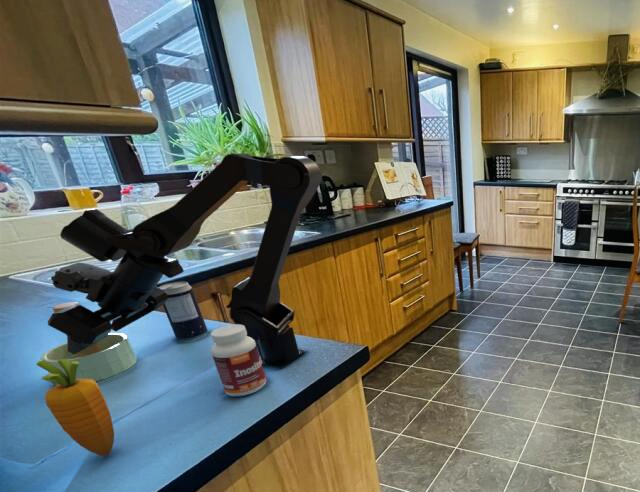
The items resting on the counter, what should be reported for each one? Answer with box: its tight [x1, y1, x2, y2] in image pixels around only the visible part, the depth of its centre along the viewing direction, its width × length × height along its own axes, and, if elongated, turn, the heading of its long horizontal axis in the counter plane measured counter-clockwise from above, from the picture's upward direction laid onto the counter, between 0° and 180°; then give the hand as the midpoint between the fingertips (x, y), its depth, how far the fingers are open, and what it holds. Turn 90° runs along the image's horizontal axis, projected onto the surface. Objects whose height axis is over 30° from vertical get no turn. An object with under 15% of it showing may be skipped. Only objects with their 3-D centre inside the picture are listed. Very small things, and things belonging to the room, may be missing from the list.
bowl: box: [40, 332, 138, 386], centre depth 74 cm, size 11×11×6 cm
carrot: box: [36, 359, 115, 457], centre depth 51 cm, size 5×5×15 cm
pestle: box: [51, 301, 103, 358], centre depth 72 cm, size 5×5×13 cm
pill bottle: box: [210, 323, 267, 397], centre depth 67 cm, size 6×6×11 cm
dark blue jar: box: [158, 281, 208, 341], centre depth 86 cm, size 6×6×12 cm
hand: (93, 340), depth 72 cm, fingers open, 9 cm apart
